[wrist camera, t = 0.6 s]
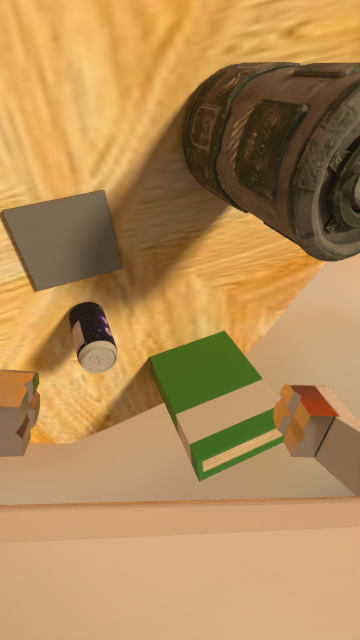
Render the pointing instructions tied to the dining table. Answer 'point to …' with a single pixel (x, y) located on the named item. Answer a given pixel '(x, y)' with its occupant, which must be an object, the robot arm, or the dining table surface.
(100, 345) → the beverage can
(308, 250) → the canister
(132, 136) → the dining table surface
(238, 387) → the hardback book
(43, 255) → the mat
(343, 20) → the dining table surface
